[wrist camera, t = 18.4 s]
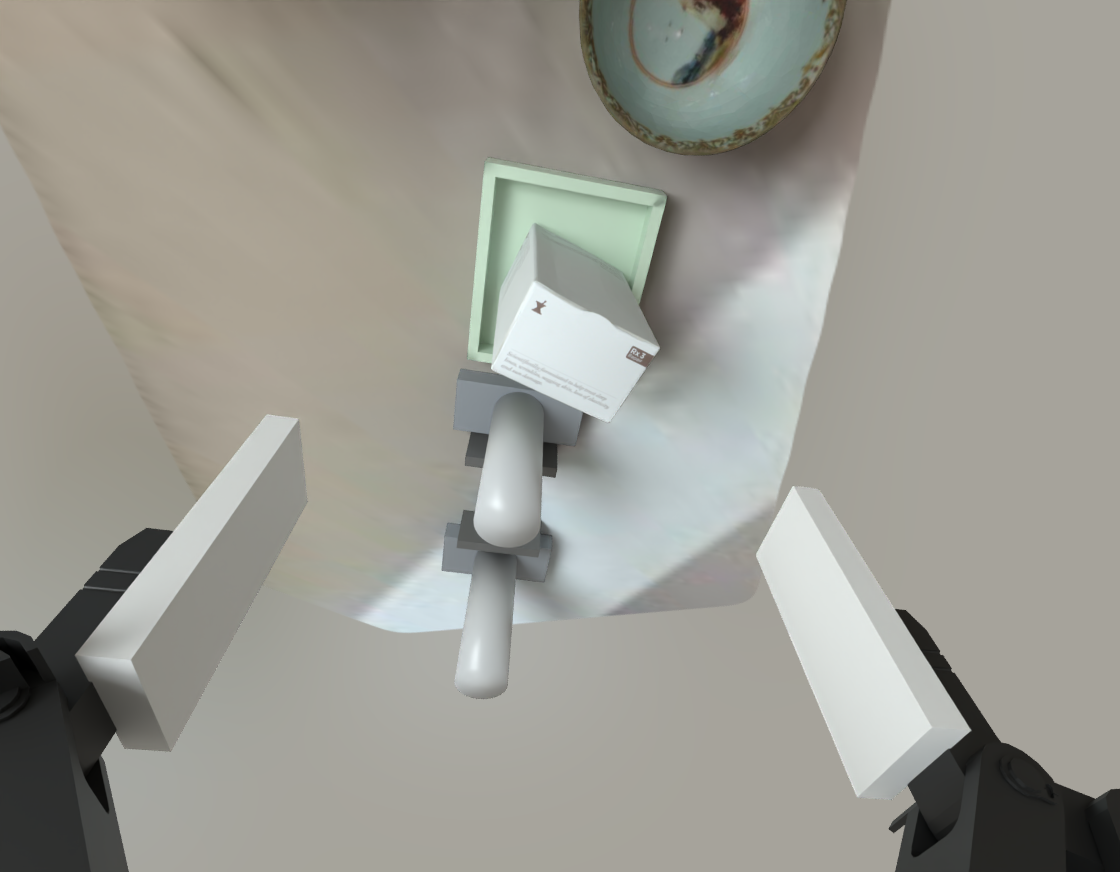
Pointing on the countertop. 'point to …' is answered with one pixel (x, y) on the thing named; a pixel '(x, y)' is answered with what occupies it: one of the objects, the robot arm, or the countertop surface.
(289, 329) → the countertop surface
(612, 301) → the skincare box
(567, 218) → the tray
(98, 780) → the robot arm
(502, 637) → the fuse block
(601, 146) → the countertop surface
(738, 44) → the bowl
